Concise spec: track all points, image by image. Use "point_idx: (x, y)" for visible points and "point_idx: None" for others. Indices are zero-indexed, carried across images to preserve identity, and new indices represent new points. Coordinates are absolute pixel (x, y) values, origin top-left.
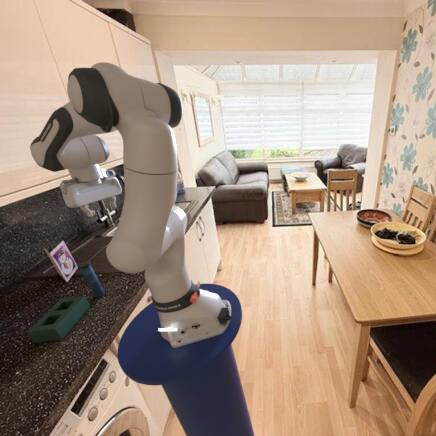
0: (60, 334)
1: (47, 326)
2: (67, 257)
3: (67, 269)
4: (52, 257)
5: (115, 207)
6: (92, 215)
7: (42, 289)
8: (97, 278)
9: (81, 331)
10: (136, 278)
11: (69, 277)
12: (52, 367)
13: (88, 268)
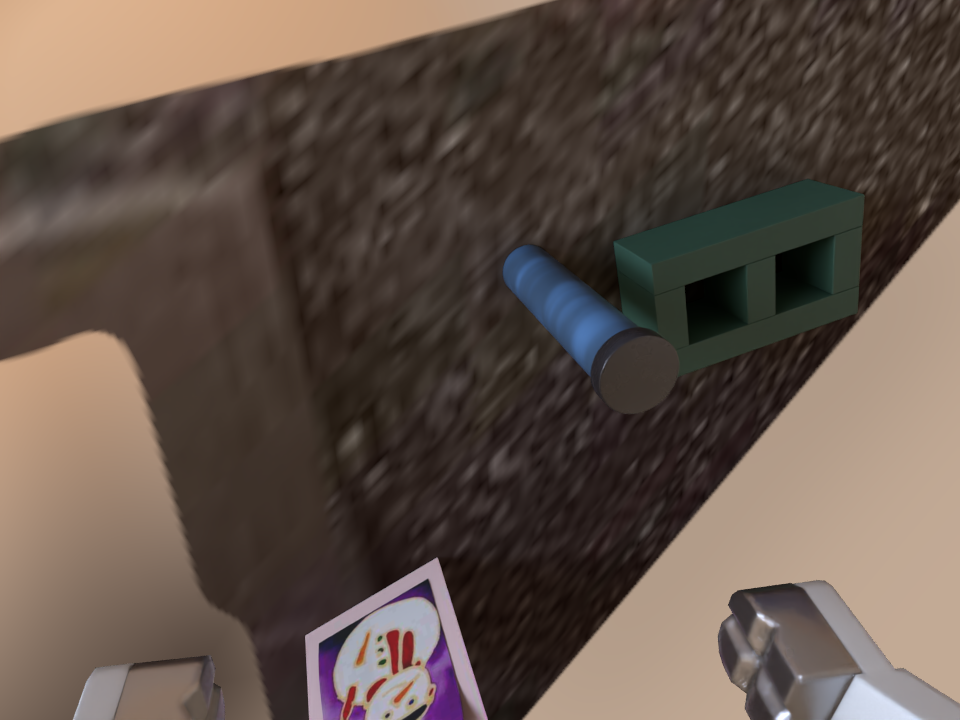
0: (821, 186)
1: (845, 246)
2: (355, 702)
3: (397, 625)
4: (482, 709)
5: (136, 663)
6: (818, 583)
7: (494, 611)
8: (556, 291)
9: (776, 122)
10: (353, 141)
11: (406, 581)
12: (938, 74)
13: (633, 326)
